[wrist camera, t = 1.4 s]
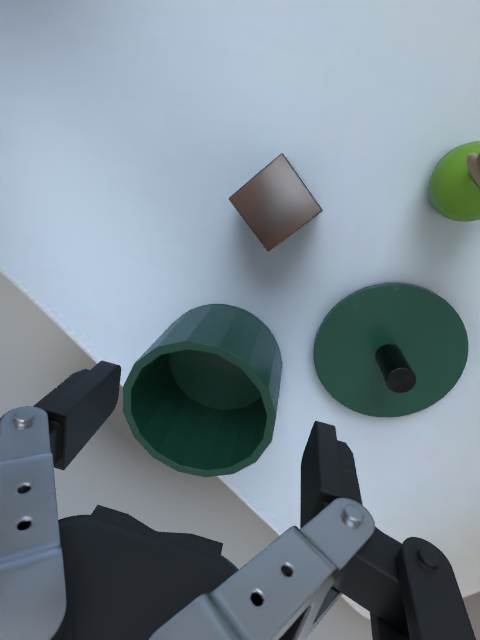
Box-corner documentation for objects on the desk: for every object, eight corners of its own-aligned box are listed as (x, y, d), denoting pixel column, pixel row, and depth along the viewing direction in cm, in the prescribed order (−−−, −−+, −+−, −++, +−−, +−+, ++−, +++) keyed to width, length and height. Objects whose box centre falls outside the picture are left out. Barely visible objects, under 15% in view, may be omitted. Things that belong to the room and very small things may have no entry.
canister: (140, 346, 39) (93, 393, 30) (230, 279, 35) (205, 310, 26) (213, 430, 41) (189, 497, 32) (306, 376, 37) (306, 435, 28)
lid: (286, 333, 36) (283, 360, 30) (413, 250, 32) (437, 264, 26) (362, 431, 38) (372, 473, 33) (491, 367, 34) (527, 403, 28)
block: (238, 196, 32) (228, 198, 28) (285, 157, 31) (282, 152, 26) (272, 242, 33) (268, 251, 29) (319, 207, 32) (322, 210, 27)
